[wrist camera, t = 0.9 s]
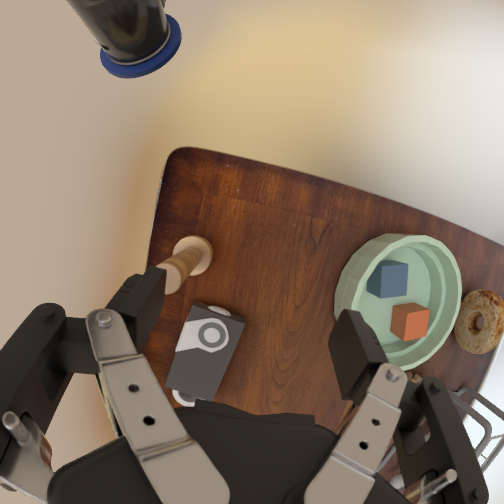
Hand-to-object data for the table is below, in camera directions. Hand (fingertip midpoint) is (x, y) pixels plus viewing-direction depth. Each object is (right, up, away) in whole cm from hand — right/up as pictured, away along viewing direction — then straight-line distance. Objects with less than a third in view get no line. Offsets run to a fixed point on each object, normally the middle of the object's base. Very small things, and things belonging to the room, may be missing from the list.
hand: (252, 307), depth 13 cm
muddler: (-7, +2, +22) cm, 24 cm away
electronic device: (-6, -12, +21) cm, 25 cm away
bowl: (+19, -4, +25) cm, 32 cm away
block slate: (+17, -1, +24) cm, 29 cm away
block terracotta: (+22, -7, +24) cm, 33 cm away
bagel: (+35, -8, +26) cm, 45 cm away
